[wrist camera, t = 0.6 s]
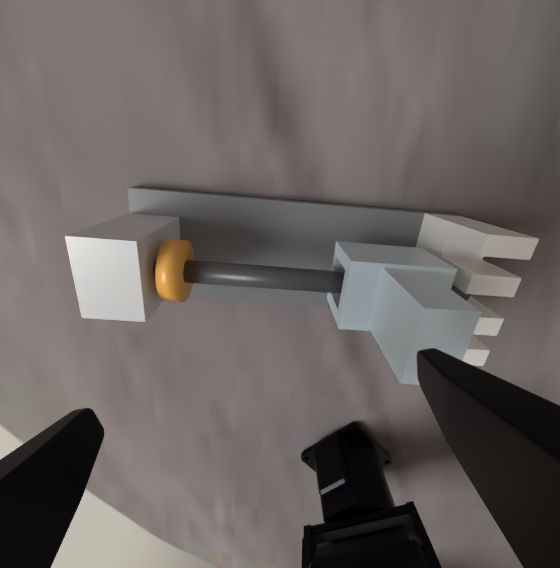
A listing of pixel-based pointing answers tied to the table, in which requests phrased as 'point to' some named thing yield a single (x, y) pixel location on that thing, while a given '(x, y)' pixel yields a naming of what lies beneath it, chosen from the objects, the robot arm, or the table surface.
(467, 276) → the grey slide rail
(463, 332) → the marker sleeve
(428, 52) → the table surface
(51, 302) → the table surface
